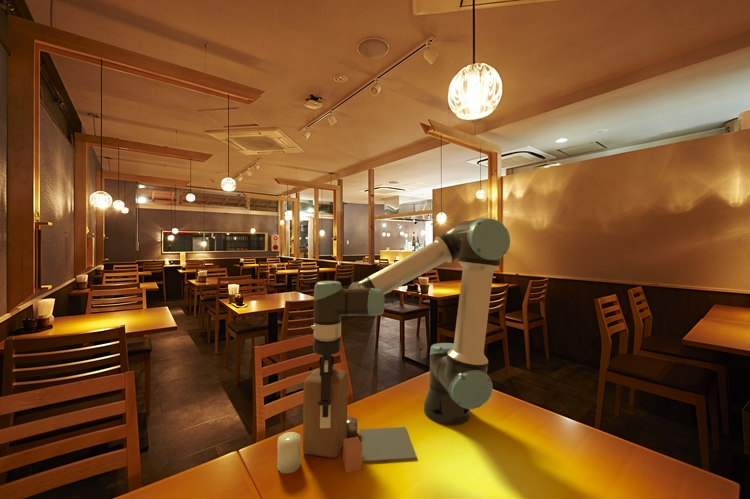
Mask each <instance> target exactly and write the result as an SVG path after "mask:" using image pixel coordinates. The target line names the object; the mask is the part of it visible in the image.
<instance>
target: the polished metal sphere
mask: <svg viewBox="0 0 750 499" xmlns="http://www.w3.org/2000/svg"><path fill="white" fill-rule="evenodd" d="M352 437H358V418H356V417H355V416H347V437H346V438H352Z"/></svg>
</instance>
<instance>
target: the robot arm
mask: <svg viewBox="0 0 750 499" xmlns="http://www.w3.org/2000/svg"><path fill="white" fill-rule="evenodd" d="M510 245H511V235H510V233H509V230H508V228H507V227H506V226H505V225H504V224H503V223H502V222H501V221H500V220H497V219H495V218H490V217H489V218H487V217H485V218H484V217H480V218H477V219H471V220H464V221H461V222H459V223H458V224H456V225H454V226H453V227H451V228H449V229H447V231H445V232H443V233H442V234H440V235H438V236H435V238H434V241H433V242H431V243H429V244H428V245H426V246H424V247H422V248H419V249H417V250H416V251H414V252H412V253H410V254H409V255H406V256H405V257H403V258H401V259H399V260H397V261H395V262H393V263H392V264H390V265H387V266H386V267H384V268H383V269H380V270H379V271H377V272H375V273H373V274H371V275H369V276H367V277H366V278H363V279H361V280H359V281H355V282H352V283H351V284H350V285H349V286H348V288H343V286H342V283H341V282H340V281H338V280H337V281H336V280H322V281H317V282H316V283H315V285H314V289H313V290H314V291H313V325H311V329H312V330H313V337H314V338H312V339H313V340H312V341H313V342H312V344H313V345H312V350H313V353H314V354H316V355H320V356H319V360H318V361H319V363H318V364H319V368H320V376H321V401H320V402H318V405H320V428H330V425H331V400H330V389H331V376H332V375H333V370H334V365H335V356H334V355H335V354H338V353H340V352H341V347H342V346H341V343H342V342H341V341H342V340H341V336H342V317H348V316H349V317H352V316H353V317H362V316H363V317H365V316H366V317H369V316H370V317H374V316H381V315H383V313H384V312H385V295H387V294H388V293H390V292H391V291H394V290H395V289H398V288H400V287H401V286H403V285H405V284H407V283H408V282H410V281H412V280H414V279H416V278H418V277H419V276H421V275H423V274H425V273H427V272H429V271H430V270H432V269H434V268H437V267H438V266H440V265H442V264H444V263H448V264H449V263H452V262H455V261H456V260H458V264H459V265H460V266H461V268H462V273H461V279H460V280H461V281H460V282H461V283H460V289H459V298H458V307H457V315H456V323H455V331H454V340H453V343H452V342H440V343H434V344H432V345H431V346H430V351H429V352H430V353H429V389H428V391H427V393H426V396H425V400H424V403H423V413H424V415H426V417H428V419H430V420H432V421H434V422H436V423H440V424H442V425H451V426H452V425H453V426H454V425H455V426H456V425H461V424H464V423H466V422H468V420H469V419H470V417H471V416H470V415H471V410H473V409H475V410H476V409H477V408H480V407H482V406H483V405H484V404H486V403H487V402H488V401H489V399H490V398H491V397H492V393H493V389H494V388H493V387H494V386H493V382H492V380H491V378H490V376H489V374H488V373H487V372H488V367H489V366H488V365H489V359H488V358H487V357H486V355H485V352H484V351H485V346H486V345H485V344H486V336H487V329H488V327H487V325H488V316H489V311H490V310H489V309H490V302H491V301H490V300H491V293H492V285H493V277H494V276H493V275H494V272H496V271H497V270H498V269H499V268H500V266H501V258H502V257H504V255H506V254H507V253H508V251H509V248H510Z"/></svg>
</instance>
